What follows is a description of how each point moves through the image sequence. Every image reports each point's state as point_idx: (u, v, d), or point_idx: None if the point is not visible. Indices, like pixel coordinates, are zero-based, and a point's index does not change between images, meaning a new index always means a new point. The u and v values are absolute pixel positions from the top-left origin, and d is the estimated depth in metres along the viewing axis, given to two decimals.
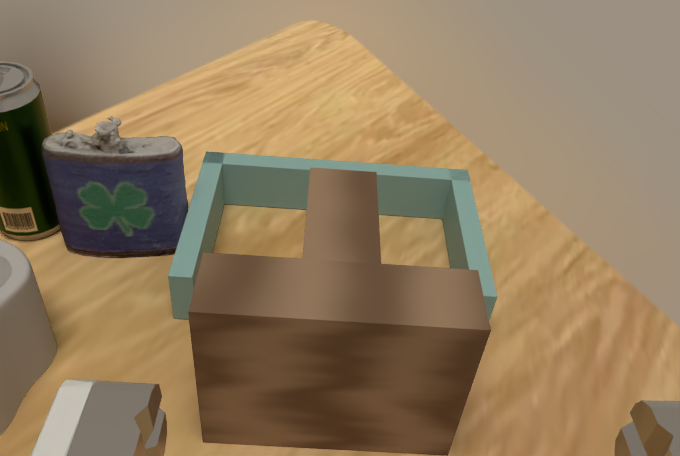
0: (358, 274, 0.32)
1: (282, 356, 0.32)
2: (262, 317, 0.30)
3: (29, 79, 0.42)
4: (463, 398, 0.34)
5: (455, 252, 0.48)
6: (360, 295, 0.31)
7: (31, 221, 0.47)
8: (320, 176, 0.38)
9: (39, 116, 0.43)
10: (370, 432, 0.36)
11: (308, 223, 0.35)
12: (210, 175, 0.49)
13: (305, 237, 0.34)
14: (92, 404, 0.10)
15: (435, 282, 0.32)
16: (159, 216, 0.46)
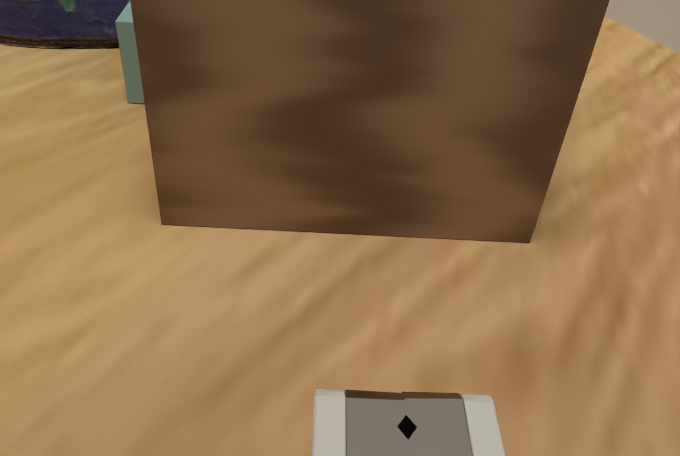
0: None
1: (279, 20, 0.19)
2: None
3: None
4: (566, 113, 0.21)
5: None
6: None
7: None
8: None
9: None
10: (416, 196, 0.24)
11: None
12: None
13: None
14: (353, 413, 0.10)
15: None
16: None
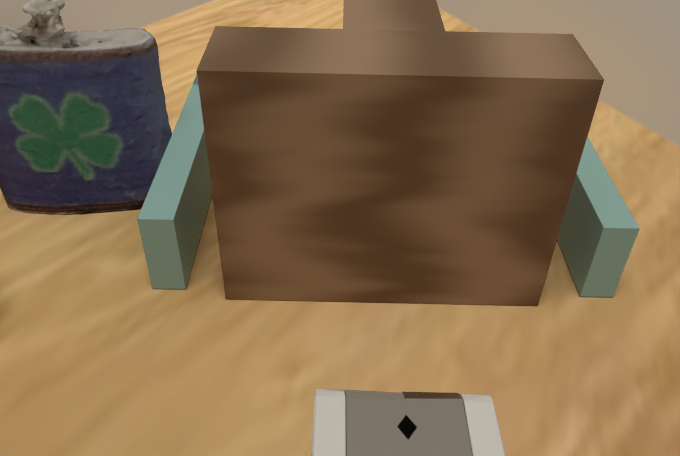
0: (417, 39, 0.25)
1: (323, 145, 0.24)
2: (296, 74, 0.22)
3: None
4: (562, 205, 0.26)
5: None
6: (423, 55, 0.24)
7: None
8: None
9: None
10: (438, 272, 0.28)
11: (347, 4, 0.28)
12: None
13: (344, 13, 0.27)
14: (353, 413, 0.10)
15: (519, 44, 0.25)
16: (129, 148, 0.32)
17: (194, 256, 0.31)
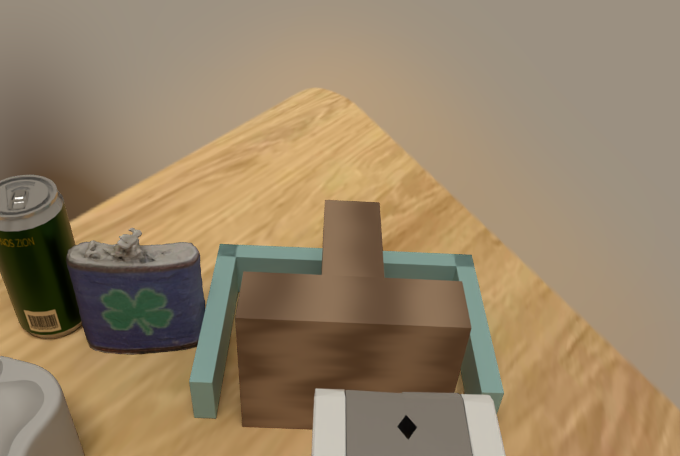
0: (366, 286, 0.41)
1: (308, 352, 0.40)
2: (293, 321, 0.38)
3: (53, 194, 0.45)
4: (453, 384, 0.42)
5: None
6: (369, 302, 0.40)
7: (55, 322, 0.49)
8: (333, 207, 0.47)
9: (63, 227, 0.46)
10: None
11: (325, 246, 0.44)
12: (225, 270, 0.51)
13: (323, 257, 0.43)
14: (353, 413, 0.10)
15: (428, 291, 0.41)
16: (177, 316, 0.48)
17: (220, 391, 0.47)
